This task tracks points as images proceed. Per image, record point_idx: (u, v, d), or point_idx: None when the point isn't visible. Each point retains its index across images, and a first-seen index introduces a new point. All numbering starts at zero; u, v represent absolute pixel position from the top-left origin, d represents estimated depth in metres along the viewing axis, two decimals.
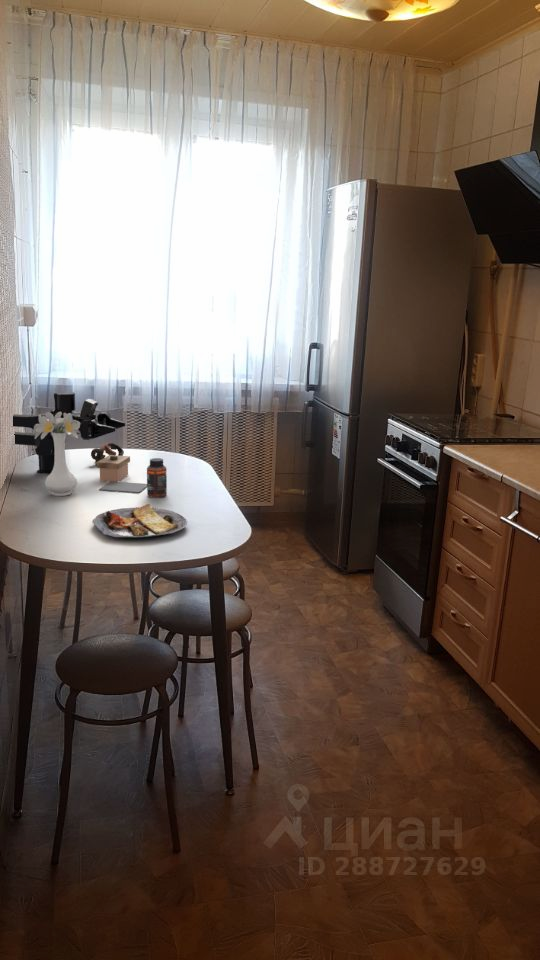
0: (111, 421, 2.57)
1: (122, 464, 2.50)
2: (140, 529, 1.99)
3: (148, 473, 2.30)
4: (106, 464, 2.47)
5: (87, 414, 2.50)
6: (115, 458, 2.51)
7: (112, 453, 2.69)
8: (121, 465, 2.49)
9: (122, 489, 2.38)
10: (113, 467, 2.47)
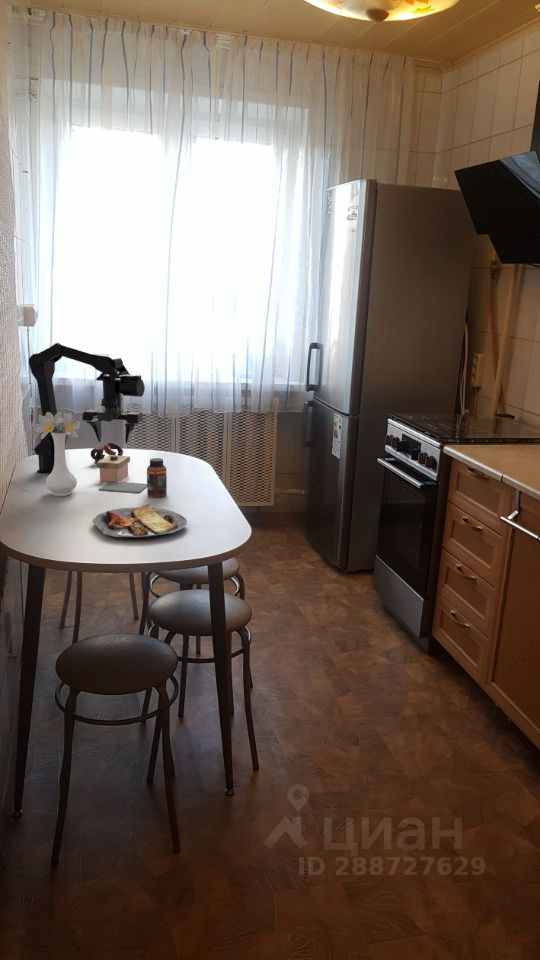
0: None
1: (122, 464, 2.50)
2: (140, 529, 1.99)
3: (148, 473, 2.30)
4: (106, 464, 2.47)
5: None
6: (115, 458, 2.51)
7: (112, 453, 2.69)
8: (121, 465, 2.49)
9: (122, 489, 2.38)
10: (113, 467, 2.47)
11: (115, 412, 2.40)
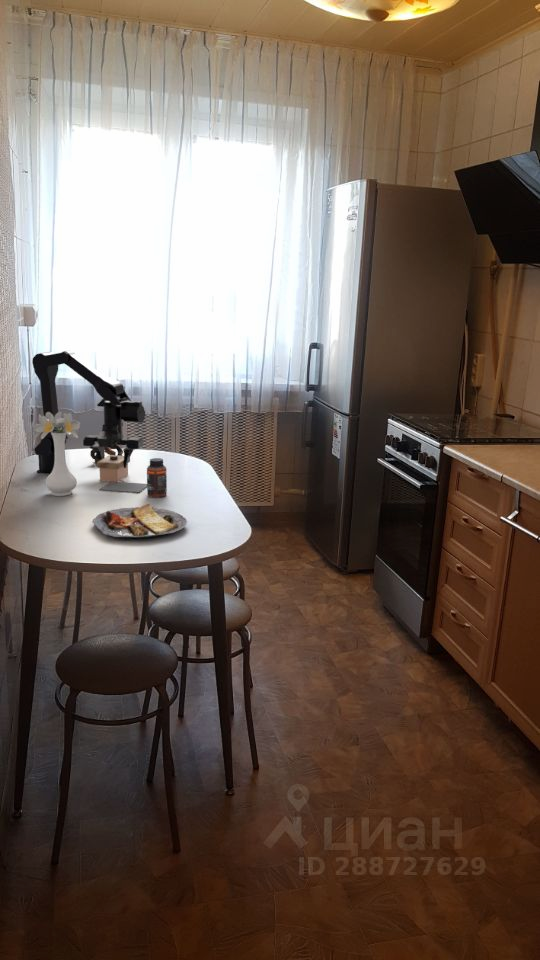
0: None
1: (122, 464, 2.50)
2: (140, 529, 1.99)
3: (148, 473, 2.30)
4: (106, 464, 2.47)
5: None
6: (115, 458, 2.51)
7: (111, 453, 2.70)
8: (121, 465, 2.49)
9: (122, 489, 2.38)
10: (113, 467, 2.47)
11: (116, 438, 2.42)
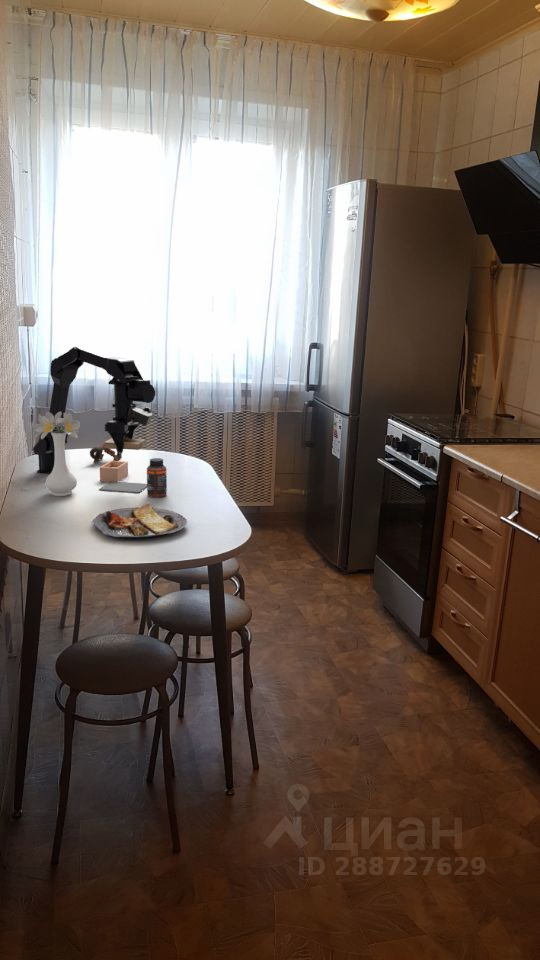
0: (131, 432, 2.42)
1: None
2: (140, 529, 1.99)
3: (148, 473, 2.30)
4: (141, 443, 2.38)
5: (134, 418, 2.34)
6: None
7: (111, 452, 2.70)
8: None
9: (122, 489, 2.38)
10: (144, 445, 2.40)
11: (151, 413, 2.39)
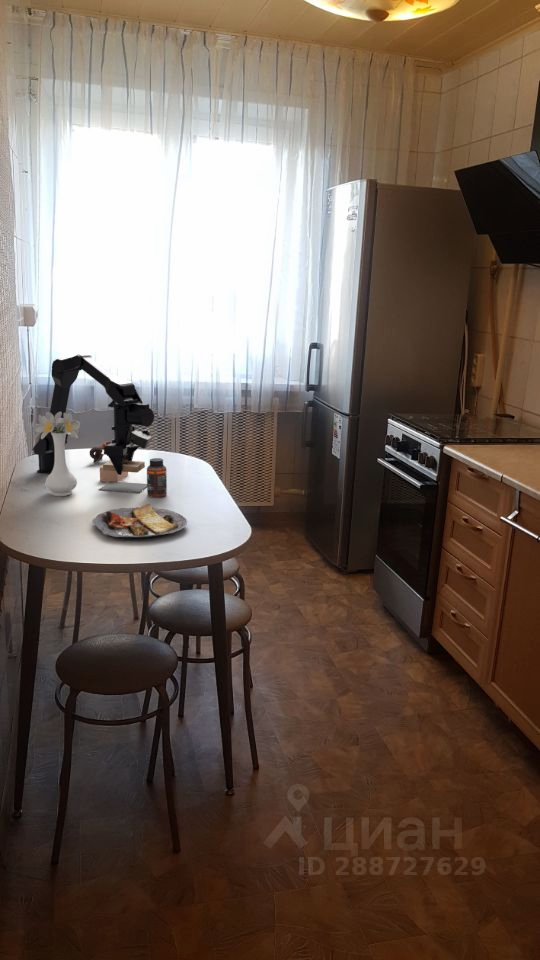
0: (130, 454, 2.43)
1: None
2: (140, 529, 1.99)
3: (148, 473, 2.30)
4: (140, 466, 2.39)
5: (133, 441, 2.35)
6: None
7: None
8: None
9: (122, 489, 2.38)
10: (142, 467, 2.41)
11: (150, 435, 2.40)
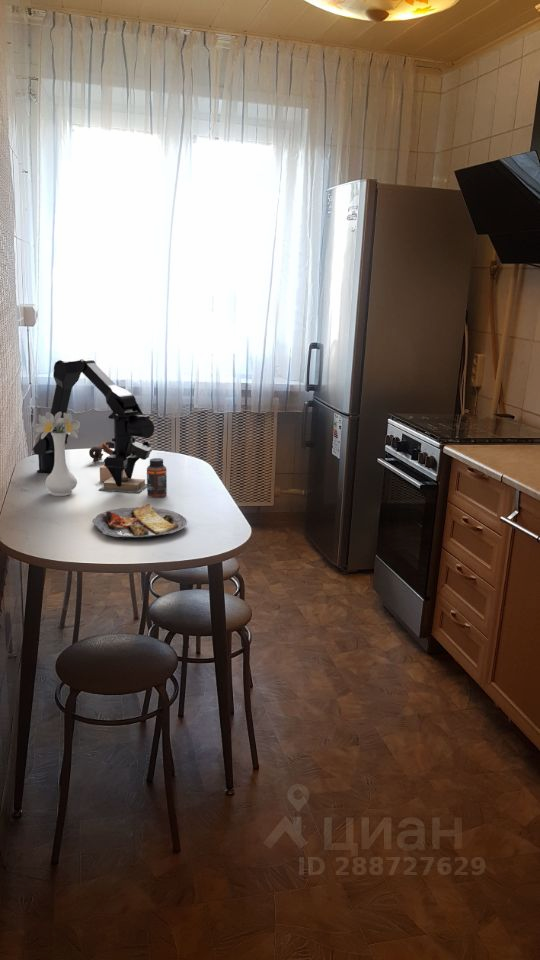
0: (131, 464, 2.45)
1: None
2: (140, 529, 1.99)
3: (148, 473, 2.30)
4: (140, 484, 2.40)
5: (133, 453, 2.36)
6: None
7: (110, 452, 2.71)
8: None
9: (122, 489, 2.38)
10: (143, 484, 2.42)
11: (150, 446, 2.41)
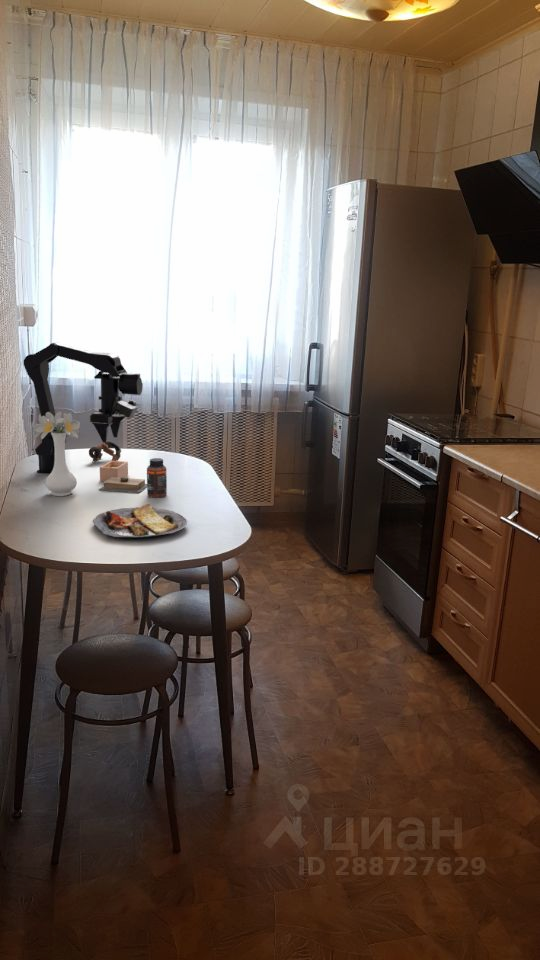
0: (117, 423, 2.57)
1: None
2: (140, 529, 1.99)
3: (148, 473, 2.30)
4: (140, 484, 2.40)
5: (118, 411, 2.48)
6: None
7: (110, 451, 2.71)
8: None
9: (122, 489, 2.38)
10: (143, 484, 2.42)
11: (135, 406, 2.53)
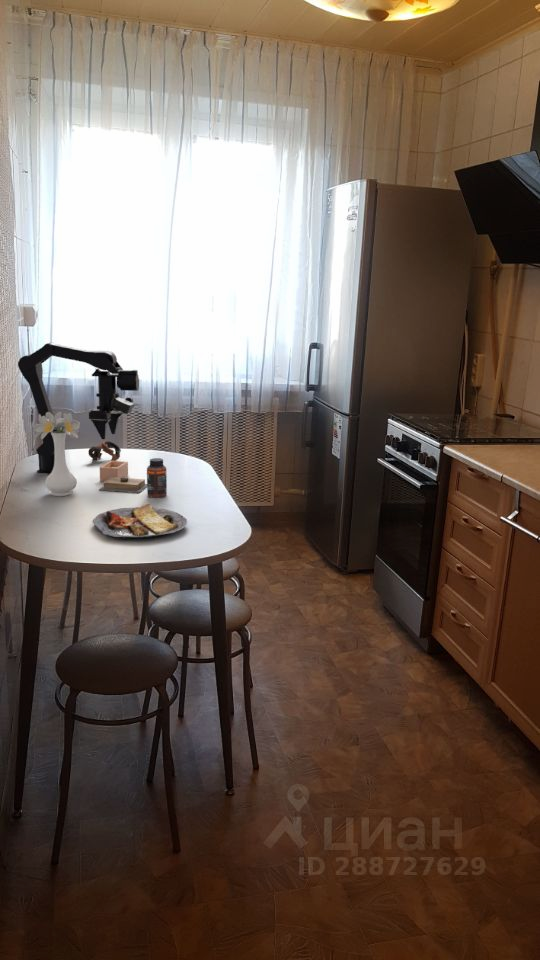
0: (115, 419, 2.60)
1: None
2: (140, 529, 1.99)
3: (148, 473, 2.30)
4: (140, 484, 2.40)
5: (116, 407, 2.51)
6: None
7: (109, 451, 2.72)
8: None
9: (122, 489, 2.38)
10: (143, 484, 2.42)
11: (132, 402, 2.56)
